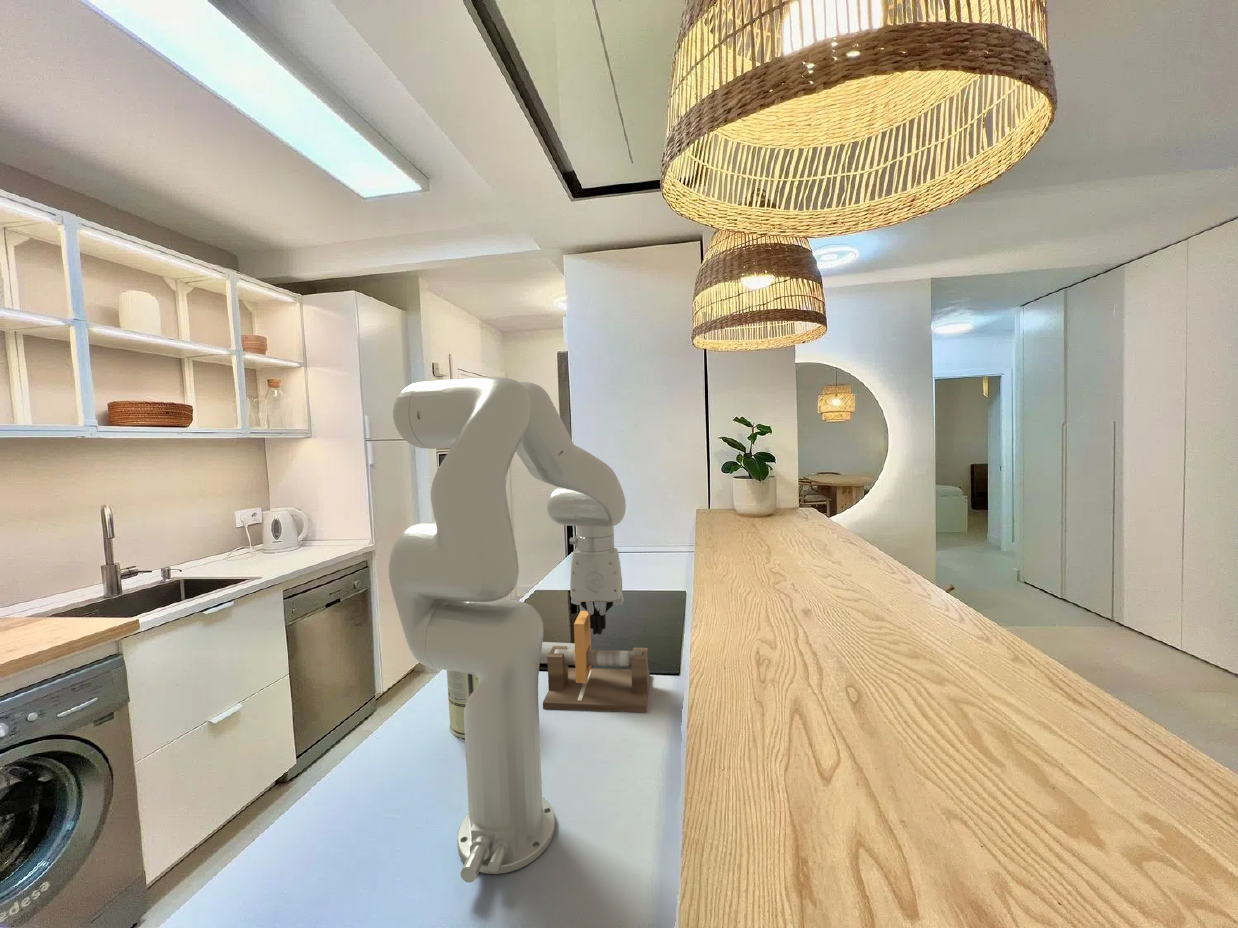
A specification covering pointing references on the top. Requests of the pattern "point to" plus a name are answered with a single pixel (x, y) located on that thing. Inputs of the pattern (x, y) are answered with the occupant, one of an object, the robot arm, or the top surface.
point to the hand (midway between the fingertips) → (598, 631)
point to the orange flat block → (582, 646)
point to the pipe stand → (598, 681)
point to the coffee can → (459, 698)
